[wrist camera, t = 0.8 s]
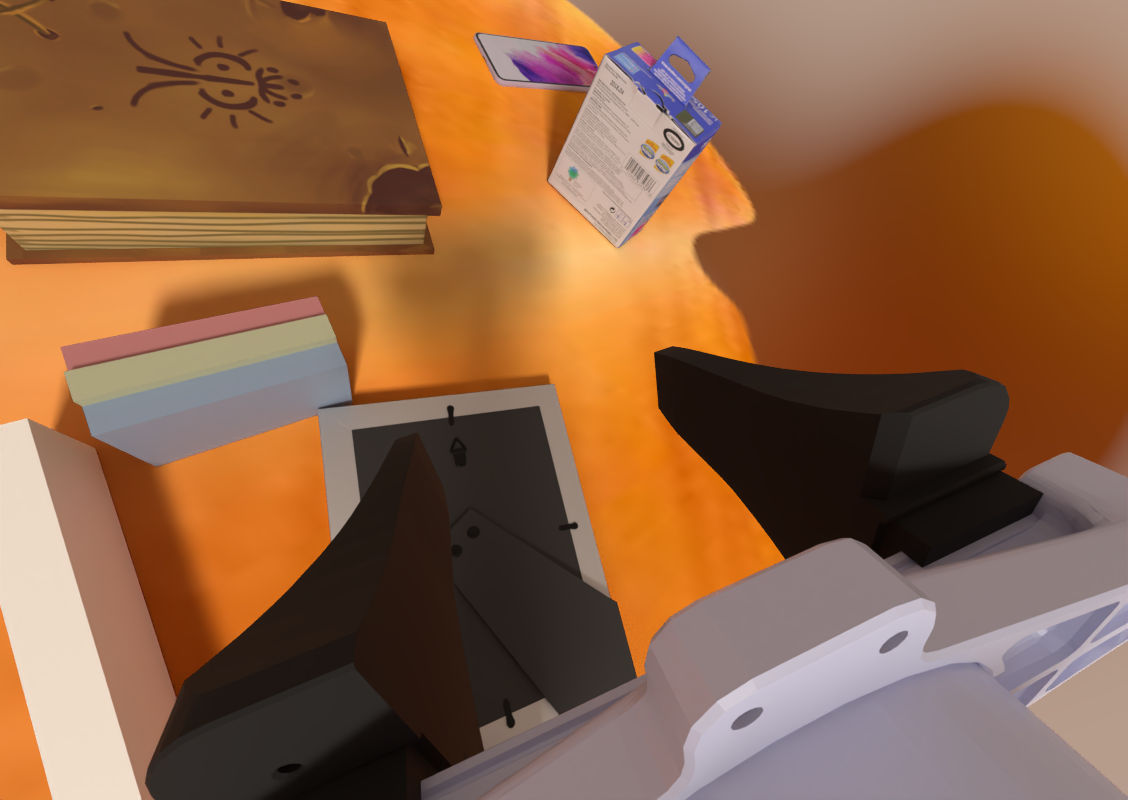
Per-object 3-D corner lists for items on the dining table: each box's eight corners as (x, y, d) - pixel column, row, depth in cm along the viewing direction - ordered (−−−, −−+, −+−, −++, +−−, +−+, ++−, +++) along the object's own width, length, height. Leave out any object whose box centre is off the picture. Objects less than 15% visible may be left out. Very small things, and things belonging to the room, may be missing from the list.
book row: (352, 403, 28) (346, 360, 22) (156, 466, 23) (83, 432, 17) (328, 347, 28) (316, 291, 23) (132, 397, 23) (54, 342, 18)
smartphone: (471, 30, 45) (586, 46, 52) (470, 39, 46) (583, 53, 53) (498, 81, 43) (612, 89, 50) (496, 89, 44) (609, 96, 51)
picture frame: (617, 679, 29) (544, 393, 34) (640, 689, 26) (557, 379, 32) (360, 802, 22) (321, 419, 27) (358, 831, 19) (315, 404, 25)
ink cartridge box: (644, 228, 45) (747, 96, 32) (618, 253, 42) (719, 118, 30) (576, 161, 44) (654, 2, 32) (545, 182, 42) (616, 15, 29)
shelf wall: (288, 1046, 18) (260, 1197, 14) (232, 1100, 17) (182, 1282, 13) (95, 448, 22) (26, 418, 18) (41, 463, 21) (-45, 436, 17)
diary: (383, 86, 39) (384, 15, 34) (432, 258, 34) (442, 206, 30) (13, 30, 28) (-64, -86, 23) (17, 269, 24) (-76, 190, 19)
